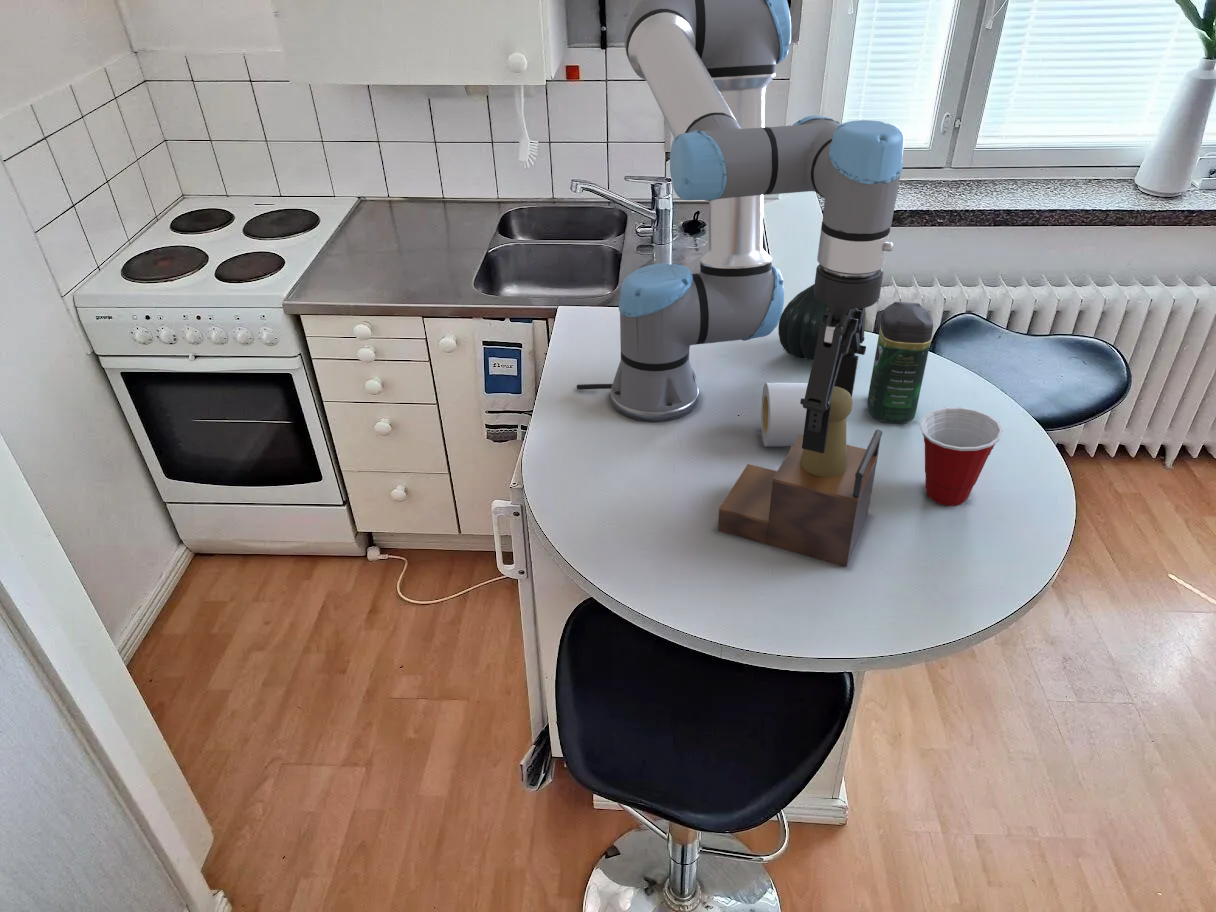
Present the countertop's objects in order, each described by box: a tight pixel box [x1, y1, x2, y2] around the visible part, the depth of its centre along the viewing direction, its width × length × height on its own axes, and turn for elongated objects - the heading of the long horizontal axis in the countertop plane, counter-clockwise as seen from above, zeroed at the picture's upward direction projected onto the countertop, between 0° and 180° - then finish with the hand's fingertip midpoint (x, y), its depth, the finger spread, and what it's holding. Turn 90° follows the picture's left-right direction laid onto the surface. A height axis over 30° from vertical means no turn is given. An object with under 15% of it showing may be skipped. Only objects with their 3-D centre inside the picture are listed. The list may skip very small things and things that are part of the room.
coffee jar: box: [866, 301, 934, 424], centre depth 142 cm, size 10×8×19 cm
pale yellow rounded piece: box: [800, 386, 854, 477], centre depth 112 cm, size 6×6×11 cm
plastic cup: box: [918, 406, 1004, 507], centre depth 124 cm, size 11×11×12 cm
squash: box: [777, 283, 829, 361], centre depth 162 cm, size 14×15×15 cm
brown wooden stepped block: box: [717, 429, 883, 568], centre depth 118 cm, size 18×12×15 cm, turn 63°
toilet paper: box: [760, 382, 808, 447], centre depth 137 cm, size 10×10×10 cm
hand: (827, 423), depth 112 cm, fingers open, 13 cm apart
